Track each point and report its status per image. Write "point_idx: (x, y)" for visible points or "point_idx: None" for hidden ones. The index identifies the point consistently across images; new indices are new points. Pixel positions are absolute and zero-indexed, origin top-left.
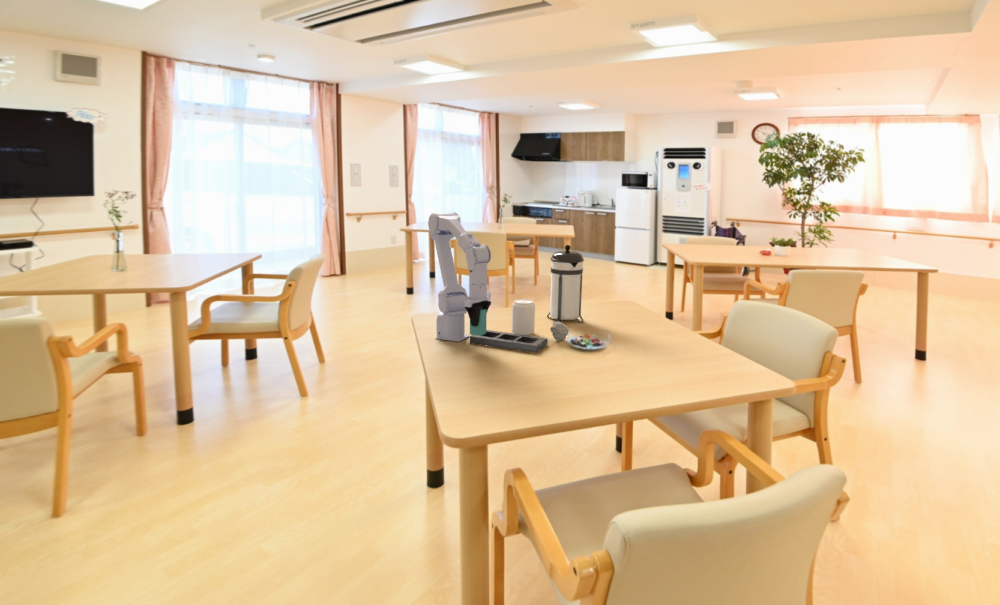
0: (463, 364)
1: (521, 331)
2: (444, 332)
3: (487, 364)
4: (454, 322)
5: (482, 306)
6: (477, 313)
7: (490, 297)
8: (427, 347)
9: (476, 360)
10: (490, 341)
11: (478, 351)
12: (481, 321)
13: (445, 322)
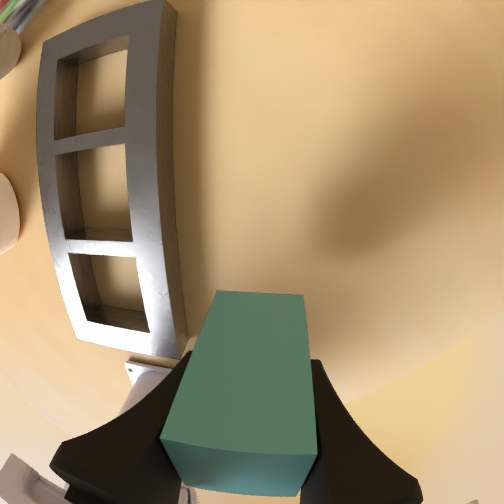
0: (459, 249)
1: (7, 201)
2: None
3: (438, 154)
4: None
5: (159, 478)
6: (378, 448)
7: (8, 461)
8: None
9: (407, 221)
10: (169, 259)
11: (278, 267)
12: (295, 367)
13: None
